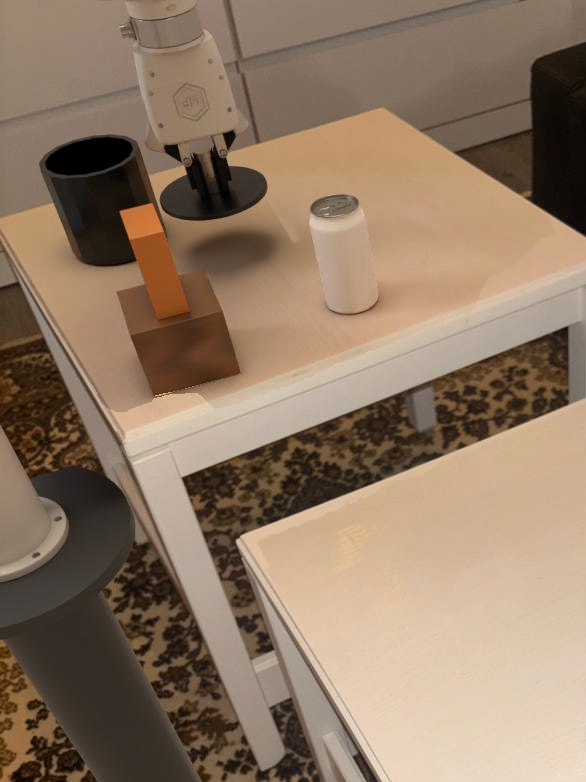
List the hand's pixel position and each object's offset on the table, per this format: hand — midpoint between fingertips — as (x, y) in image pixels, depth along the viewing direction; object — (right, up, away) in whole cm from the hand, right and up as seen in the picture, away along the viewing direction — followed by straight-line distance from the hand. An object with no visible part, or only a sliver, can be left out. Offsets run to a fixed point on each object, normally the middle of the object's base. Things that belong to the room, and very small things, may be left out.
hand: (212, 189), depth 124 cm
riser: (0, -25, -10) cm, 27 cm away
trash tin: (-16, -2, +11) cm, 19 cm away
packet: (0, -20, -16) cm, 26 cm away
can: (+18, -16, -4) cm, 24 cm away
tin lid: (0, 0, +1) cm, 1 cm away
